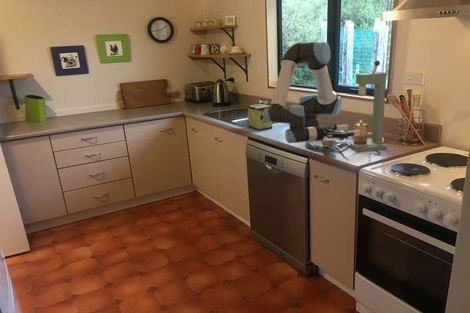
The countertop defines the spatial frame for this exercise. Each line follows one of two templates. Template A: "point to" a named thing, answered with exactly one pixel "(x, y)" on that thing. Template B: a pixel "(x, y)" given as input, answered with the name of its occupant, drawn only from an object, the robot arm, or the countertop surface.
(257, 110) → the protein box
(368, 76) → the arbor press
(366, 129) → the housing
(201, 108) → the countertop surface
